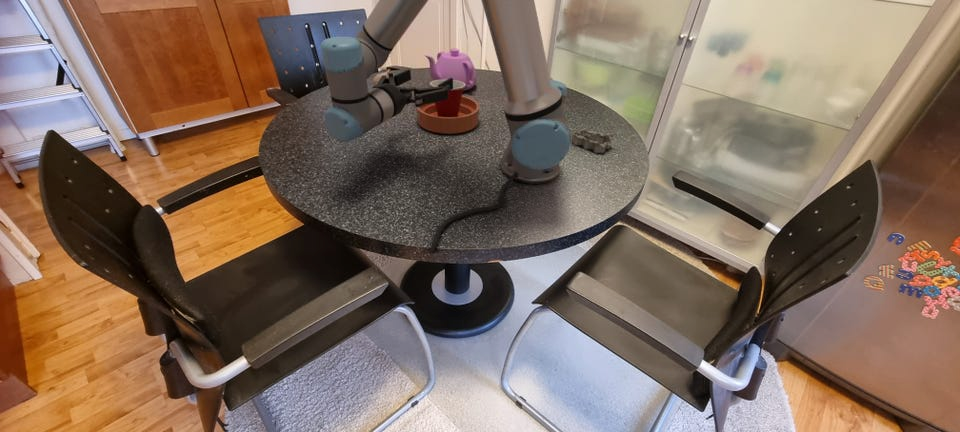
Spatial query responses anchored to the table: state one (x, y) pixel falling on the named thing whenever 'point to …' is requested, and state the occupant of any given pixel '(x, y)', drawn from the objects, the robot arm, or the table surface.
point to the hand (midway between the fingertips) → (430, 78)
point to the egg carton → (592, 140)
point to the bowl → (449, 125)
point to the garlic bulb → (380, 77)
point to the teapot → (453, 68)
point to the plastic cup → (453, 103)
